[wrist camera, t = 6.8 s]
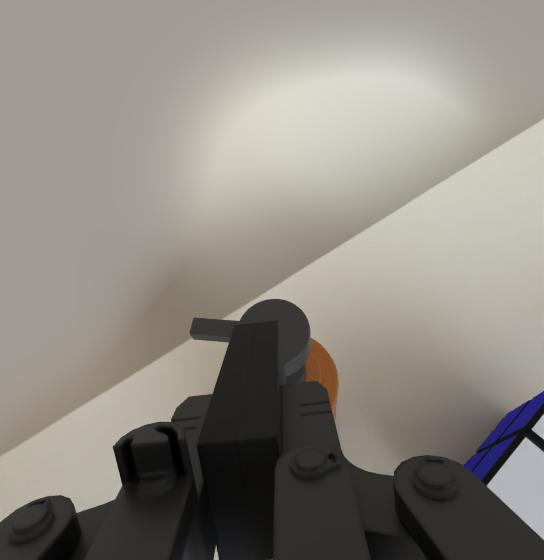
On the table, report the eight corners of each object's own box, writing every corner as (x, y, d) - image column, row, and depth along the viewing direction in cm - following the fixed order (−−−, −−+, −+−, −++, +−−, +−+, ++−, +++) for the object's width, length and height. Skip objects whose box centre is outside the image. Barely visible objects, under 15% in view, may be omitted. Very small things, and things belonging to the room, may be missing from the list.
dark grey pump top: (314, 330, 23) (312, 300, 20) (308, 392, 21) (306, 370, 18) (214, 322, 24) (198, 293, 21) (201, 381, 22) (181, 358, 19)
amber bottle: (336, 387, 37) (342, 319, 25) (331, 467, 34) (336, 433, 22) (264, 380, 39) (236, 311, 26) (253, 457, 35) (215, 418, 23)
